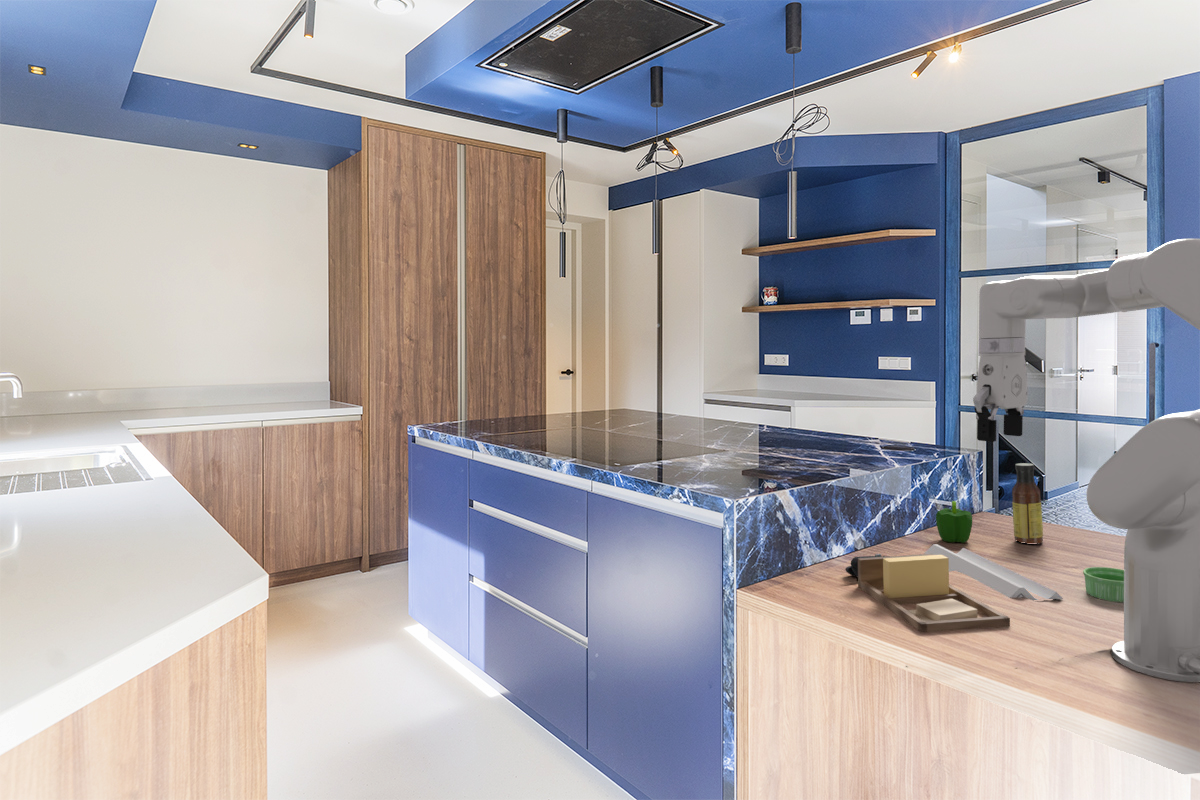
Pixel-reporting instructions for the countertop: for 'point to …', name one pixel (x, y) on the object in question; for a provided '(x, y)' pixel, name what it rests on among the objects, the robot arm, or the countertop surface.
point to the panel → (916, 576)
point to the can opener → (854, 564)
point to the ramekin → (1105, 583)
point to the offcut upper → (946, 610)
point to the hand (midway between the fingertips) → (999, 438)
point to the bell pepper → (954, 524)
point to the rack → (925, 601)
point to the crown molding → (993, 574)
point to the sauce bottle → (1027, 506)
